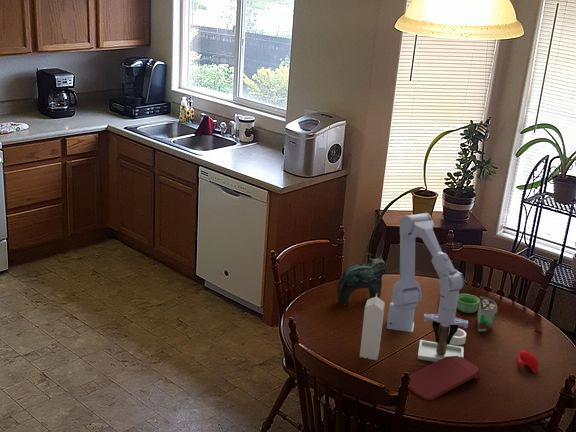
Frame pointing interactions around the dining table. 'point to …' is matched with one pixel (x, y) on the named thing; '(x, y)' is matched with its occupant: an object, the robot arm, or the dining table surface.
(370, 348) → the milk
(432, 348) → the tray
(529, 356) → the red helmet
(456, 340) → the cup
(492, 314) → the food container
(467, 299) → the ramekin
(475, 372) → the dark red slab
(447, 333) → the dowel
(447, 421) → the dining table surface
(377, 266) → the ceramic cat
